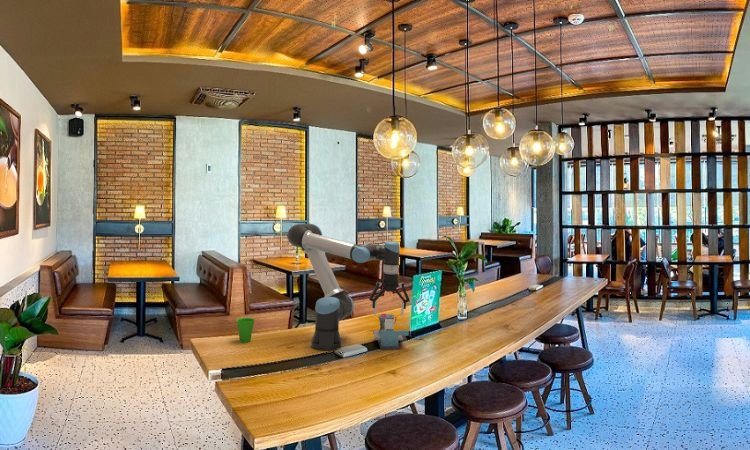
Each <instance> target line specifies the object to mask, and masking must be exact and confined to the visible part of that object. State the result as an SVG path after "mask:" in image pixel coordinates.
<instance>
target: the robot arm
mask: <svg viewBox="0 0 750 450" xmlns="http://www.w3.org/2000/svg"><path fill="white" fill-rule="evenodd" d="M286 235H287V240H288V243H290V244H291V246H293V247H295V248H296V247H297V248H300V249H301V251H302V253H304V254H306V256H307V257H308V259H309V262H310V264H311V266H312V269H313V270H314V273H315V276H316V278H317V280H318V282H319V284H320V287H321V289H322V291H323V293H324V297H321V298H319V299H317V301H316V302H315V307H314V308H315V309H314V310H315V315H314V316H315V321H314V324H315V326H314V333H313V336H312V338H311V343H310V345H311V346H310V347H311V348H313V349H315V350H319V351H333V350H334V351H335V350H338V349H337V348H339V349H340V348H342V345H343V340H342V337H341V334H340V331H339V330H340V329H339V325H340V324H339V323H340V321H342V320H343V319H346V318H348V317H349V316H350V315H351V314H352V313H353V311H354V307H355V305H354V300H353V299H352V297H351V296H349V295H348V294H346V292H345V289H342V288H341V287H340V285H339V283H338V281H337V279H336V276H335V274H334V271H333V269H332V267H331V265H330V263H329V260H328V258H327V255H326V253H328V254H331V255H335V256H339V257H343V258H347V259H350V260H353V261H354V262H355V263H359V264H360V263H361V264H363V263H366V262H370V261H372V260H377V261H383V274H382V282H379V281H377V282H376V285H375V287H374V289H373V291H372V292H371V294H370V295H369V298H368V299H369V300H368V301H371V302H372V304H371V305H372V309H374V310H373V313H374V314H373V315H374V316H377V307H378V306H377V305H378V304H377V303H378V302H377V300H378V299H379V298H381V296H382V295H383V294H384V293H385V292H387V293H388V292H389V293H394V292H395V293H396V294H397V295H398V297H399V299H400V300H401V306H400V307H401V308H400V316H401V317H404V310H406V308H407V303H409V302H410V297H409V294H408V293H407V291H406V288H405V283H404V282H400V283H399V269H400V267H399V265H400V253H401V250H400V249H401V248H400V246H401V245H400V243H399V242H397V241H385V242H384V245H383V244H382V245H381V244H372V243H364V244H362V245H361V244H356V243H353V242H348V241H345V240H341V239H337V238H332V237H329V236H325V235H323V231H322V229H321V228H320V226H318V225H317V224H315V223H300V224H299V223H298V224H294V225H292V226H291V227H289V229H288V231H287V234H286ZM380 287H382V289H381V290H380V291H379V292H378V293H377V291H378V290H379V288H380ZM399 287H400V288H401V290H402V292H403V294H404V295H402V294H401V292H399V290H398V288H399ZM376 293H377V294H376ZM403 296H405V298H404V297H403Z"/></svg>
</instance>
